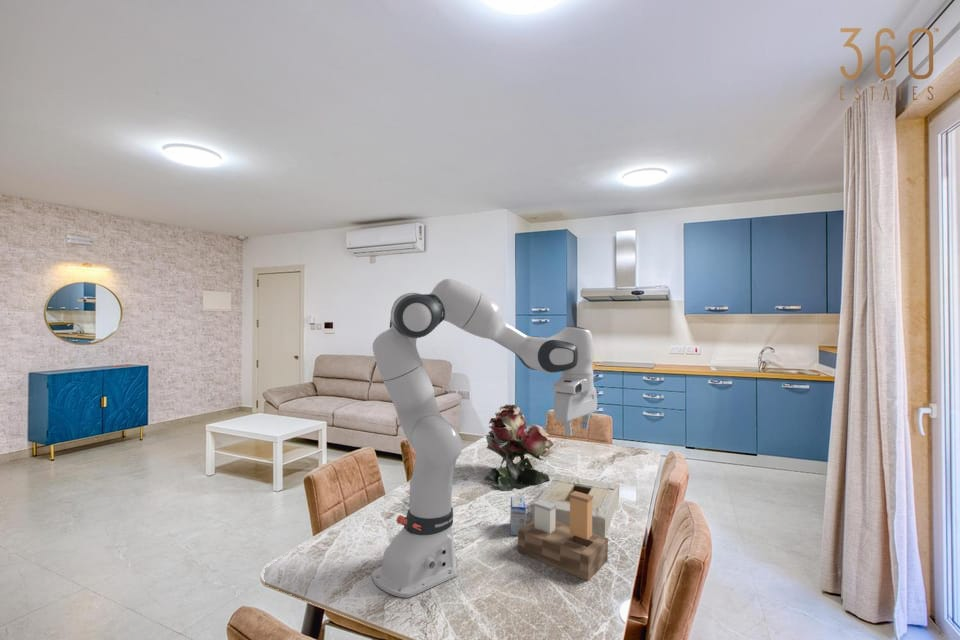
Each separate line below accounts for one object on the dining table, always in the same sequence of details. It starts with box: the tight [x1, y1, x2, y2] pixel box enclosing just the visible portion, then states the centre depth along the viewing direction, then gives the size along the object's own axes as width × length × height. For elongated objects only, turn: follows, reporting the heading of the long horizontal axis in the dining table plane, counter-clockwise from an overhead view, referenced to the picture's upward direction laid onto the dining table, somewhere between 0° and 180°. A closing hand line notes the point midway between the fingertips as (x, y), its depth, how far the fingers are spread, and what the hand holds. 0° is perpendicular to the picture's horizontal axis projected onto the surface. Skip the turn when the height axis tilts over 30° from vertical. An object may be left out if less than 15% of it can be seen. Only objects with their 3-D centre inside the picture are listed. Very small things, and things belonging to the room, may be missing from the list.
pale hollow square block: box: [531, 473, 620, 538], centre depth 147 cm, size 23×8×32 cm
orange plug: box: [570, 491, 593, 540], centre depth 116 cm, size 3×5×10 cm, turn 51°
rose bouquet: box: [483, 403, 555, 492], centre depth 181 cm, size 26×29×30 cm
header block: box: [517, 520, 609, 582], centre depth 119 cm, size 12×21×6 cm, turn 51°
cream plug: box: [534, 500, 556, 534], centre depth 123 cm, size 3×5×10 cm, turn 51°
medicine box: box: [509, 496, 527, 536], centre depth 134 cm, size 8×4×9 cm, turn 178°
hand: (576, 432), depth 123 cm, fingers open, 8 cm apart
